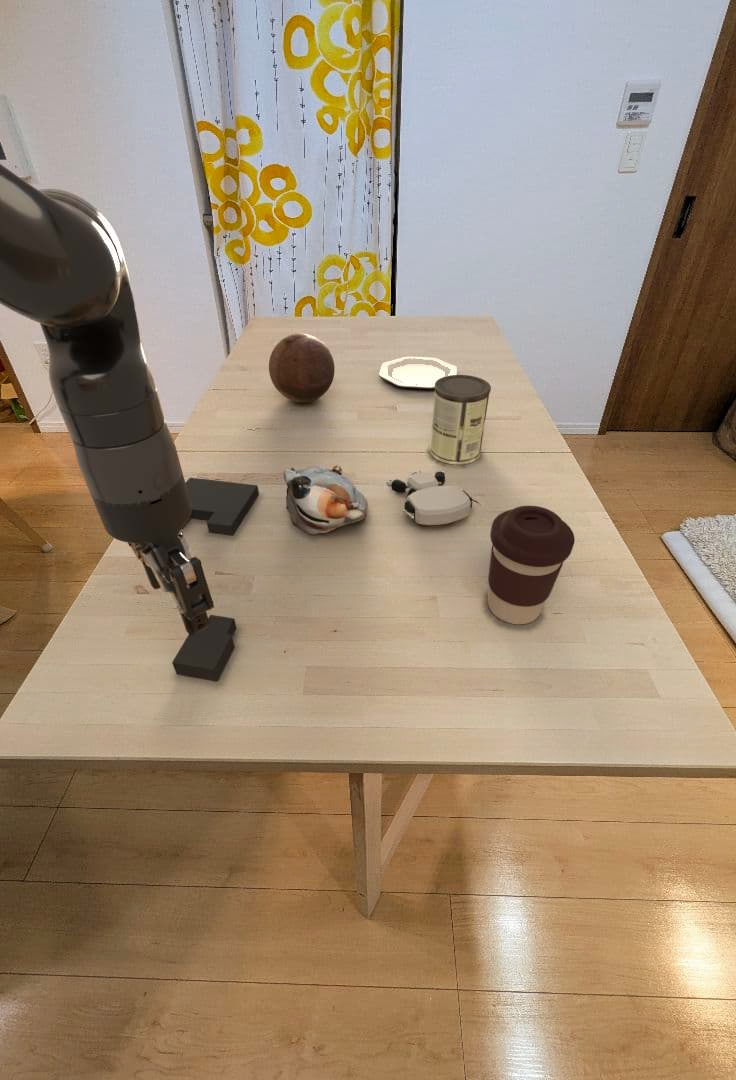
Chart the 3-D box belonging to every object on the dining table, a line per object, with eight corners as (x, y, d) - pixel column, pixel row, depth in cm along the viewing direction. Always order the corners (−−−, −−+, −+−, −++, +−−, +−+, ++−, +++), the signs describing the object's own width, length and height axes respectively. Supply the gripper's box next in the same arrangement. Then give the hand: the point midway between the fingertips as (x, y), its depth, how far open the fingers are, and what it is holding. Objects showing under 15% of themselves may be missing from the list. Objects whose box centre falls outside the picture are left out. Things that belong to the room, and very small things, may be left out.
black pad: (176, 674, 63) (171, 662, 62) (206, 623, 70) (202, 611, 68) (217, 681, 63) (213, 669, 61) (243, 629, 69) (241, 617, 67)
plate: (456, 364, 141) (457, 358, 140) (455, 394, 126) (456, 388, 125) (385, 360, 143) (385, 355, 142) (375, 389, 128) (375, 384, 127)
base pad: (159, 526, 86) (156, 516, 85) (192, 486, 95) (189, 477, 94) (232, 535, 84) (230, 526, 83) (259, 494, 93) (257, 485, 92)
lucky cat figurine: (381, 505, 90) (388, 466, 77) (345, 561, 86) (347, 529, 73) (308, 465, 92) (304, 420, 79) (270, 518, 88) (258, 480, 75)
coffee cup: (539, 644, 67) (567, 558, 57) (467, 616, 71) (482, 530, 61) (557, 596, 74) (586, 511, 64) (490, 573, 77) (508, 489, 68)
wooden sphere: (348, 398, 124) (347, 334, 114) (301, 419, 116) (295, 352, 106) (307, 381, 132) (302, 320, 122) (260, 399, 124) (250, 335, 114)
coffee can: (443, 434, 110) (450, 370, 101) (488, 448, 106) (500, 382, 97) (419, 455, 104) (424, 388, 95) (466, 470, 99) (476, 401, 90)
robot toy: (382, 494, 94) (413, 539, 83) (381, 472, 92) (414, 516, 80) (443, 483, 97) (481, 524, 86) (444, 461, 95) (484, 501, 83)
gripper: (62, 457, 46) (118, 586, 57) (123, 533, 38) (176, 668, 48) (144, 431, 50) (183, 556, 60) (216, 494, 42) (246, 627, 52)
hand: (180, 606), depth 54 cm, fingers open, 8 cm apart
